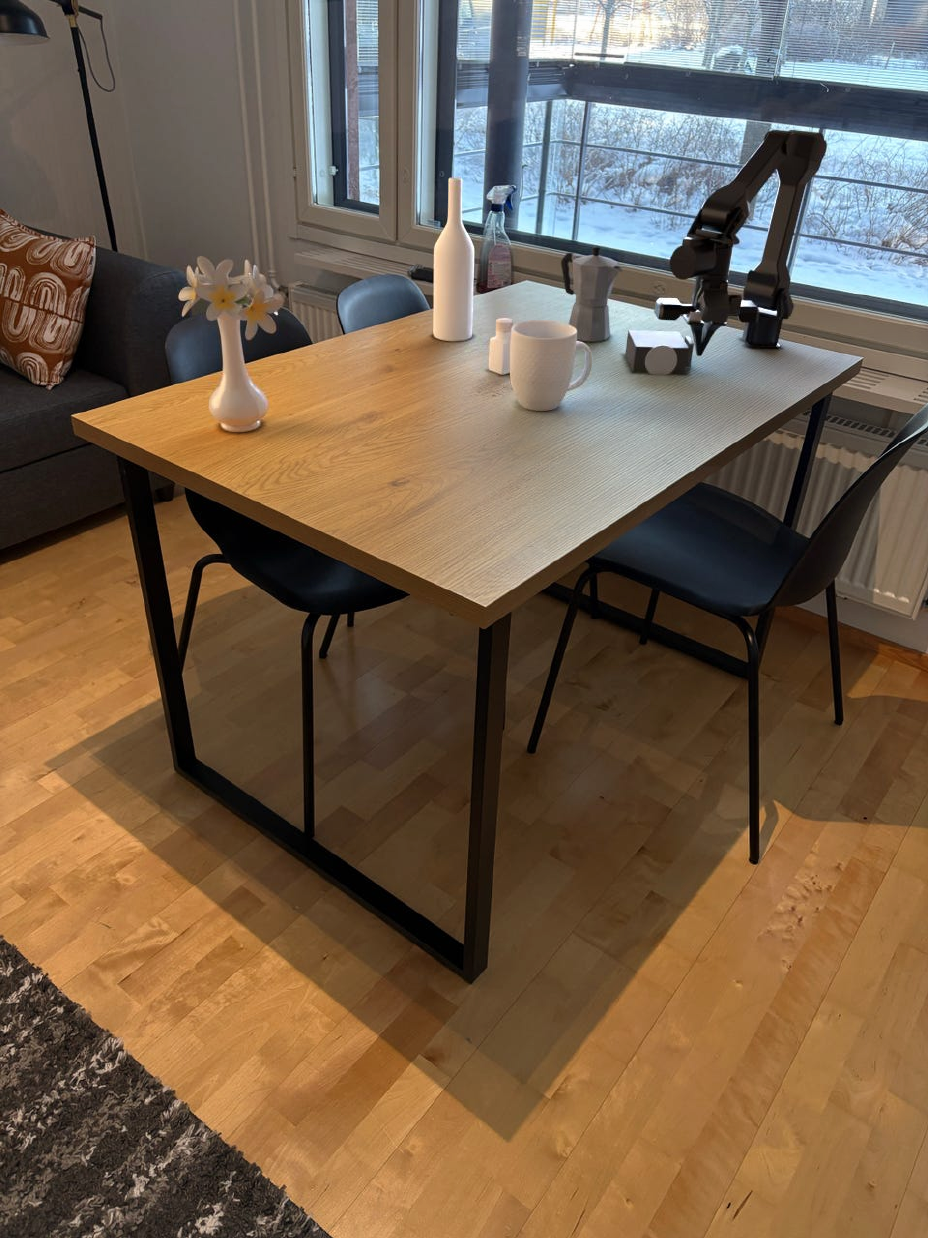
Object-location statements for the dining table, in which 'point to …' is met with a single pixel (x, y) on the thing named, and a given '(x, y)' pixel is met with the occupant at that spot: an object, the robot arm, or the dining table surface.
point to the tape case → (656, 352)
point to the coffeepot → (590, 293)
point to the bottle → (453, 273)
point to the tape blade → (691, 346)
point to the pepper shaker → (501, 347)
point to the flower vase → (234, 336)
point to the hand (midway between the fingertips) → (698, 355)
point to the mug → (544, 363)
